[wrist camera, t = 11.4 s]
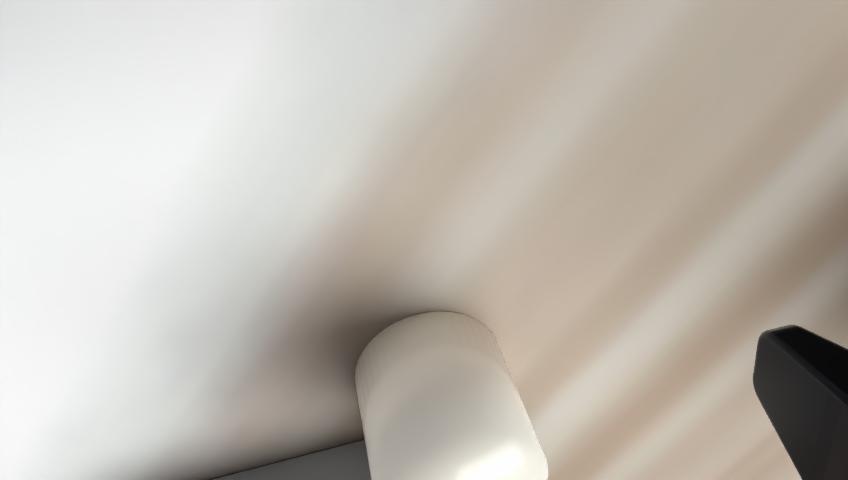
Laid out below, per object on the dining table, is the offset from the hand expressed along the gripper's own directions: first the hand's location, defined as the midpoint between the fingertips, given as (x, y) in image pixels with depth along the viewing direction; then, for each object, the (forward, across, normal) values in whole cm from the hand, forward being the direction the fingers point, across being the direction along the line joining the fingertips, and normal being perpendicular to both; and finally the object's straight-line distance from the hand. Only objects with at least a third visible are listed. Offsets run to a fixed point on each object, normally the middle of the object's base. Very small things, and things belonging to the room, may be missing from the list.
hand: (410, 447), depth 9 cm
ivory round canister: (+12, -1, +11) cm, 16 cm away
